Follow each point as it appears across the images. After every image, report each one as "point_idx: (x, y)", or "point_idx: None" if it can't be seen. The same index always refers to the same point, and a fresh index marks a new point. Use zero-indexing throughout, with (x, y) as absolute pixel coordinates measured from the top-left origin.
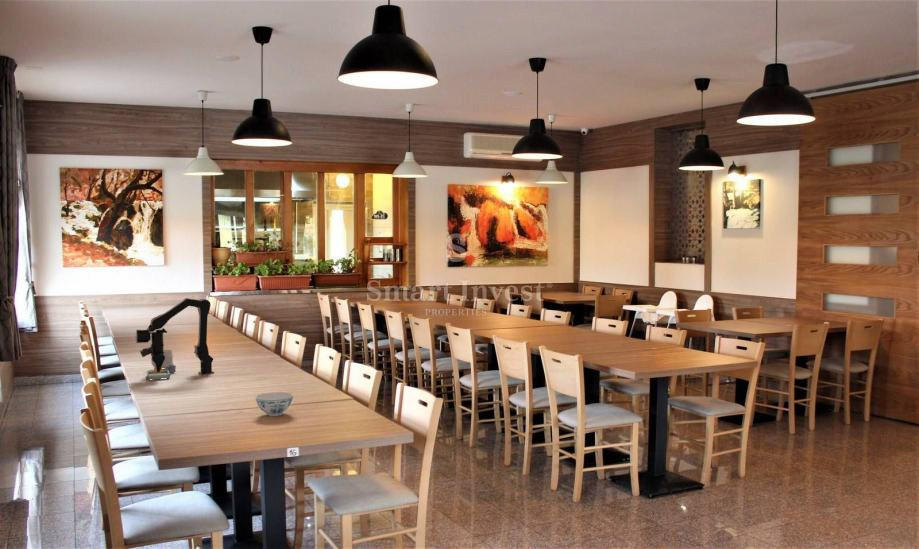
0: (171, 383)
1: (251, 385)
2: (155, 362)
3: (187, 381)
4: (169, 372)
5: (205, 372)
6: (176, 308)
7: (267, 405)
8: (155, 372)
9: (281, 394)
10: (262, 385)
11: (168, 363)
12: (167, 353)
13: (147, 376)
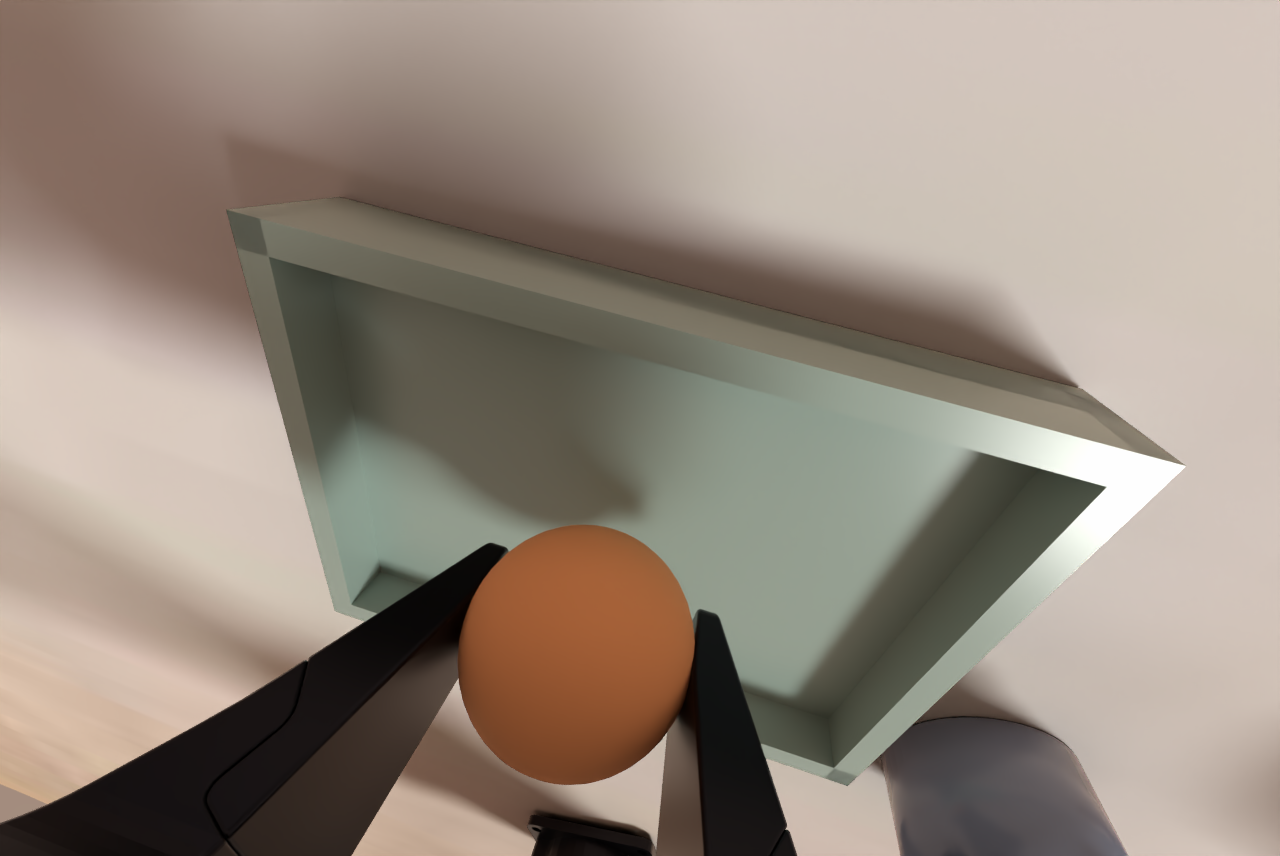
0: (44, 437)
1: (28, 718)
2: (14, 838)
3: (179, 595)
4: (910, 753)
5: (543, 847)
6: None
7: None
8: (589, 525)
9: None
10: (35, 737)
11: None
12: None
13: (466, 254)
